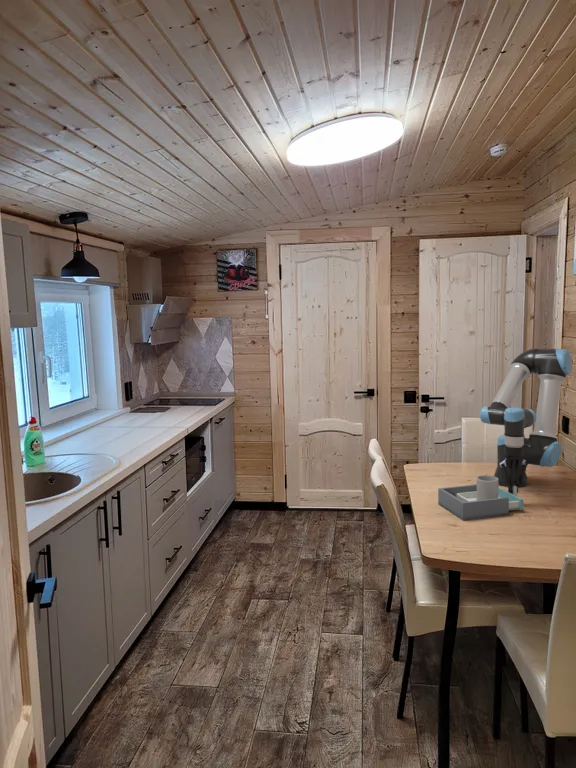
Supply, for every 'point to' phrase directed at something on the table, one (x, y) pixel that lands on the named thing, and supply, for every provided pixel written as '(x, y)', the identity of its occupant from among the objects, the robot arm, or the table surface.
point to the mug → (487, 487)
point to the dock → (471, 504)
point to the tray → (514, 501)
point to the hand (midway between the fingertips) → (513, 500)
